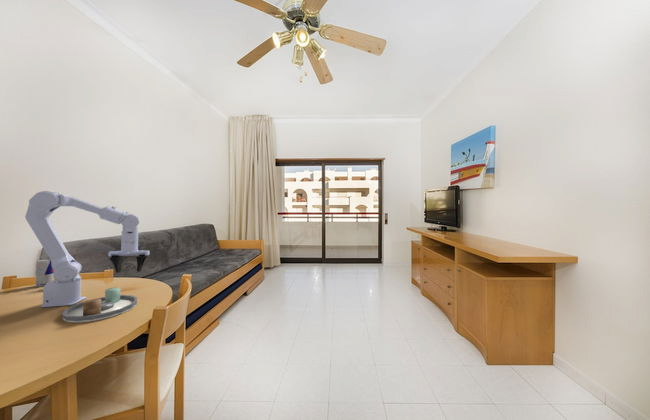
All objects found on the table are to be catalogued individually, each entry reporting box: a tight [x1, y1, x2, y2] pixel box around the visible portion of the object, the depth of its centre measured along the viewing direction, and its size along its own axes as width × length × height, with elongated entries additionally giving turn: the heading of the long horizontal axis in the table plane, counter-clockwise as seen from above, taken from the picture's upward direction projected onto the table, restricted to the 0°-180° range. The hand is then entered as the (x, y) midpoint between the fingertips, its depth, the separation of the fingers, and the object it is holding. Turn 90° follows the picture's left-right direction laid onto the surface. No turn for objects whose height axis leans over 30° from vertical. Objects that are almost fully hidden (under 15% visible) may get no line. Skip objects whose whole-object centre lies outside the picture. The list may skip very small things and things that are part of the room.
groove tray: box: [61, 294, 138, 324], centre depth 85 cm, size 20×20×2 cm
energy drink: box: [35, 258, 55, 288], centre depth 109 cm, size 5×5×12 cm
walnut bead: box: [82, 297, 101, 316], centre depth 79 cm, size 4×4×5 cm
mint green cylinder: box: [104, 287, 121, 303], centre depth 91 cm, size 4×4×5 cm
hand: (129, 271), depth 102 cm, fingers open, 7 cm apart
